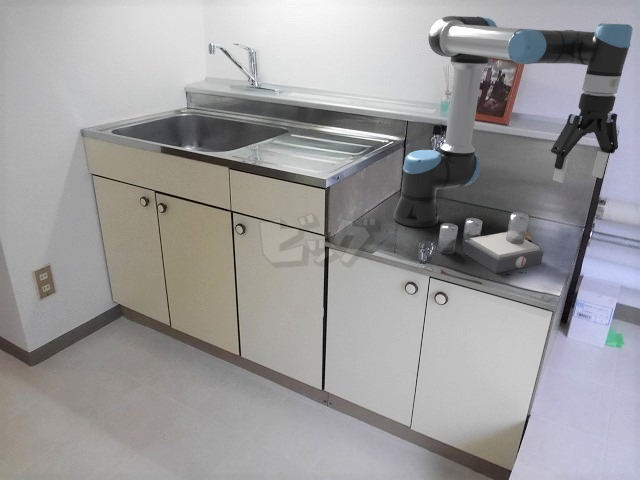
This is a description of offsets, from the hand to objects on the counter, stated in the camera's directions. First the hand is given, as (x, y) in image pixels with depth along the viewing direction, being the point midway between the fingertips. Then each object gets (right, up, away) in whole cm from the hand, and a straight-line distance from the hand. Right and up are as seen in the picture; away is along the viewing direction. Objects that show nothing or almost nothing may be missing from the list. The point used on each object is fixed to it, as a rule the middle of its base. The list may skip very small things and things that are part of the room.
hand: (577, 179), depth 132 cm
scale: (-12, -21, +20) cm, 31 cm away
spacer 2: (-19, -17, +28) cm, 38 cm away
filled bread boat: (-2, -16, +34) cm, 37 cm away
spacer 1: (-28, -19, +23) cm, 41 cm away
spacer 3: (-9, -16, +19) cm, 27 cm away
